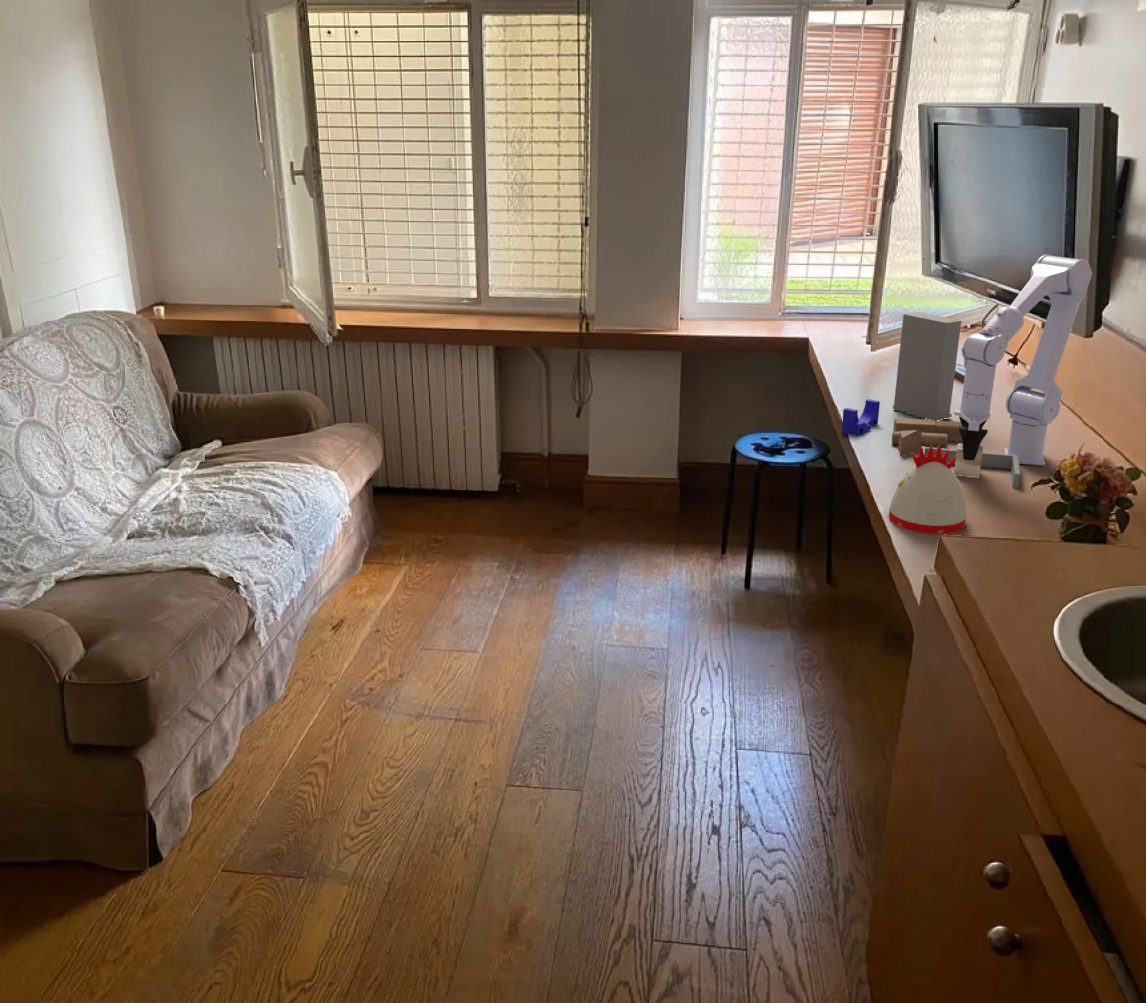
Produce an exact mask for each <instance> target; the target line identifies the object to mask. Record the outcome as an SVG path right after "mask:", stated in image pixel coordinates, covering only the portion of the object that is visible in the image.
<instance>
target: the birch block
mask: <svg viewBox="0 0 1146 1003" xmlns="http://www.w3.org/2000/svg"><path fill="white" fill-rule="evenodd" d="M983 446H984V445H980V446H979V449H978V452H977V455H976V457H975V459H974V461H973V460H964V458H963V444H962V443H957V446H956V450H957V453H956V461H955V464H954V469H953V473H954V474H955V475H962V476H972V477H973V476H975V477H979V478H980V473H981V468H982V466H981V460H982V453H983V452H984V451H983V449H984V448H983ZM962 476H961V477H962ZM972 477H971V478H972Z"/></svg>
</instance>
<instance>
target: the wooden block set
mask: <svg viewBox="0 0 1146 1003" xmlns="http://www.w3.org/2000/svg"><path fill="white" fill-rule="evenodd" d="M893 422H894V423H893V431H892V434H891V445H892V446H897V450H898V453H900V454H899V457H902V455H903V456H906V455H909V454H911V451H912V452H913V453H915V452H918V451H919V447H920V445H921V446H930V445H932V446H933V448H937V447H938V445H940V446H941V448H942V447H946V448H947V447H948V443H949V442H948V441H958V442H957V443H962V438H961V435H960V432H959V426H962V425H961V421H949V420H942V421H935V420H929V419H923V418H901V417H895V418H894V421H893ZM917 450H918V451H917ZM914 451H915V452H914ZM905 454H906V455H905Z"/></svg>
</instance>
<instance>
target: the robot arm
mask: <svg viewBox="0 0 1146 1003" xmlns="http://www.w3.org/2000/svg"><path fill="white" fill-rule="evenodd" d="M1030 272H1031V273H1030V279H1029V280H1028V282H1027V283H1026V284H1025V285H1024V287H1023V288H1022V289H1021V291H1020V292H1019V293H1018V295H1017V296H1016V298H1015V299H1014V300H1013V301H1012V302H1011V304H1010V306H1003V307H1001V308H999V309H998V310H997V312H996V313H995V314H994V315H993V316H992V317H991V319H989V321H988V322H986V324H985V325H984V326H983V328H982V329H981V330H980V331H979V332H977V333H973V334H971V335H969V336H968V337H967V338H966V340H965V341H964V343H963V347H962V346H961V355H962V358H963V367H964V369H965V371H964V379H963V388H962V394H961V396H962V397H961V403H960V409H954V411H953V415H954V416H958V417H959V422H961V425H962V426H959V432H960V435H961V438H962V442H961V444H963V458H964V460H973V461H974V459H975V457H976V455H977V452H978V449H979V446H981V444H982V441H983V440H984V438H985V437H986V436H987V434H988V432H989V430H988V429H984V428H983V427H984V425H985V424H986V423H987V421H988V420H989V419H990V417H991V413H990V410H991V404H992V399H993V398H992V397H993V396H992V395H993V390H994V381H995V377H996V376H995V374H996V370H997V369H996V368H997V365H998V364H999V363H1000V362H1001V361H1002V360H1003V358H1004V356H1005V353H1006V350H1007V348H1008V347H1009V342H1010V341H1011V340H1012V339H1013V338H1014V337H1015V335H1016V334H1017V333H1018V332H1020V331H1019V330H1021V329H1022V328H1023V326H1024V324H1025V319H1024V316H1026V315H1027V314H1028V313H1029V312H1030V311H1031V310H1032V309H1033V308H1034V307H1035V306H1036V305H1037V304H1038V303H1039V302H1040V301H1041V300H1042V299H1044V297H1046V296H1048V298H1049V299H1050V302H1051V305H1050V310H1049V311H1048V314H1047V318H1046V320H1045V324H1044V326H1043V330H1042V332H1041V335H1040V338H1039V341H1038V344H1037V347H1036V350H1035V353H1034V356H1033V359H1032V362H1031V366H1030V368H1029V371H1028V374H1026V375H1024V376H1022V377H1021V378H1018V379H1017V380H1015V382H1014V385H1013V387H1012V390H1010V392H1009V393H1008V395H1007V397H1006V400H1005V408H1006V411H1007V413H1008V414H1009V419H1011V427H1010V436H1009V440H1008V447H1005V448H1004V454H1010V455H1018V462H1019V465H1021V464H1023V465H1031V466H1041V467H1042V466H1043V467H1044V466H1046V461H1045V456H1044V449H1045V444H1046V437H1047V432H1048V424H1052V422H1053V421H1054V420H1055V419H1056V418H1057V416H1059V412H1060V409H1061V398H1062V396H1063V395H1062V394H1063V391H1062V389H1061V388H1060V387H1059V385H1058V384H1057V383H1056V382H1055V377H1056V375H1057V373H1058V369H1059V366H1060V363H1061V361H1062V357H1063V354H1064V352H1065V349H1066V346H1067V343H1068V340H1069V337H1070V334H1071V331H1072V328H1073V325H1074V323H1075V320H1076V316H1077V313H1078V310H1079V309H1080V308H1079V307H1080V305H1081V302H1082V301H1084V299H1085V296H1086V294H1087V290H1088V288H1089V285H1090V282H1091V280H1092V276H1093V271H1092V269H1091V266H1090V264H1089V261H1088V260H1087V259H1085V258H1080V259H1078V258H1071V257H1064V256H1063V257H1062V256H1054V255H1051V254H1043V255H1042V256H1040V257H1039V258H1038V260H1036V262H1035V264H1033V266H1032V267H1031V270H1030ZM1032 389H1034V390H1032ZM1035 390H1038V391H1035ZM1040 391H1041V392H1040Z"/></svg>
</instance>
